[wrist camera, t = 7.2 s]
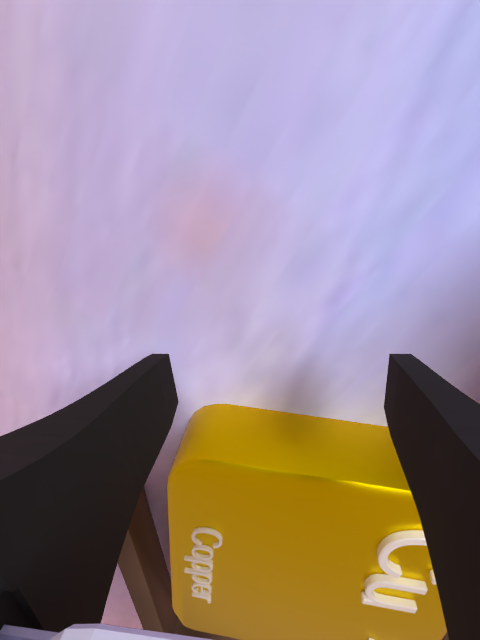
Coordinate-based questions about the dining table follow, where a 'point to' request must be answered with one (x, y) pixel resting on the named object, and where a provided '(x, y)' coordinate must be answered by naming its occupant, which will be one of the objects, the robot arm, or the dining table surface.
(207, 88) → the dining table surface
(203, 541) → the element tile
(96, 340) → the dining table surface
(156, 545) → the walnut holder
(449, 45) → the dining table surface
